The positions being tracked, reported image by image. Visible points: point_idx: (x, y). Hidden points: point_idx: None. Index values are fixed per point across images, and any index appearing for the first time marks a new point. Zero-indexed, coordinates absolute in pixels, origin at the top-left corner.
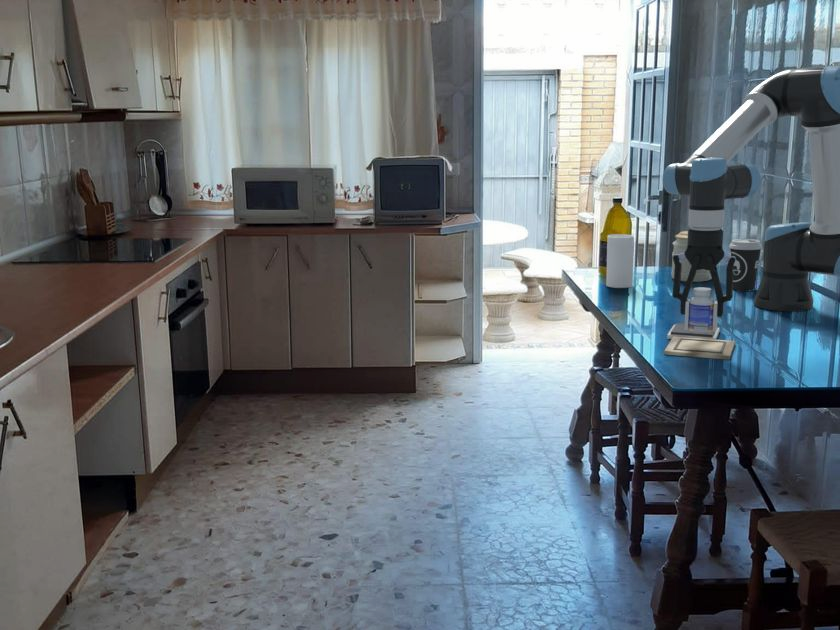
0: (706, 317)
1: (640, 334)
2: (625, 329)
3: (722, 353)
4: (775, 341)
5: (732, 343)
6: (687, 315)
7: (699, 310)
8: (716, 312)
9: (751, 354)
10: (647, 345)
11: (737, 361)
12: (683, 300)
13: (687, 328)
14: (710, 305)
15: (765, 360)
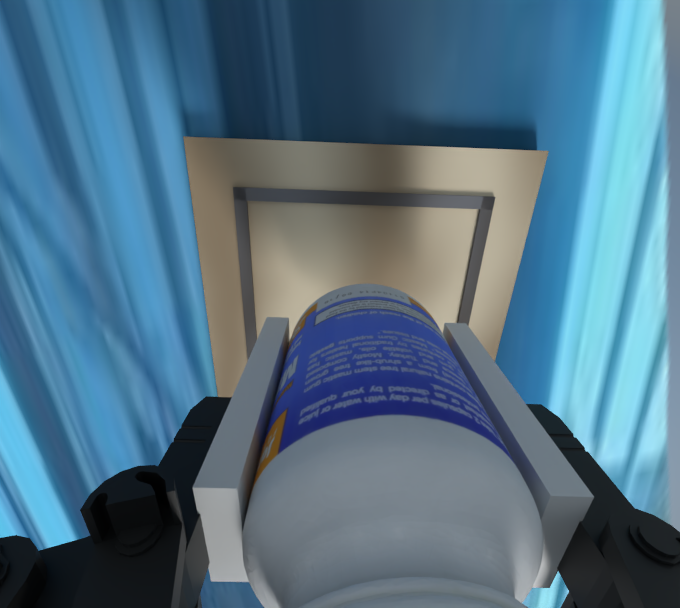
0: (324, 346)
1: (596, 459)
2: (642, 505)
3: (231, 186)
4: (97, 480)
5: (223, 384)
6: (489, 383)
7: (400, 372)
8: (231, 405)
9: (121, 277)
10: (597, 307)
11: (145, 113)
12: (631, 517)
13: (449, 327)
14: (278, 450)
15: (24, 181)
